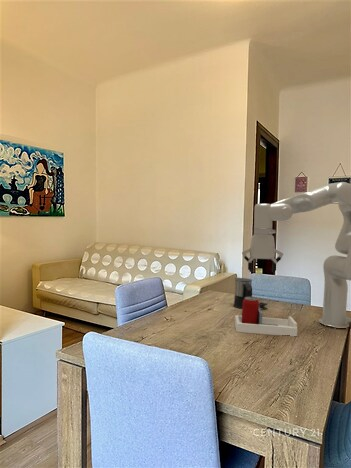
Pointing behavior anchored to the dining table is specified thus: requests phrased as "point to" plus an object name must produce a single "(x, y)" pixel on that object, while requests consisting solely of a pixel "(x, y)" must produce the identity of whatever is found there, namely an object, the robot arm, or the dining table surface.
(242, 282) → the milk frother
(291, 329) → the white tray
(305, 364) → the dining table surface
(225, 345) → the dining table surface
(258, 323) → the pusher
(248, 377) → the dining table surface
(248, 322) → the beverage can
